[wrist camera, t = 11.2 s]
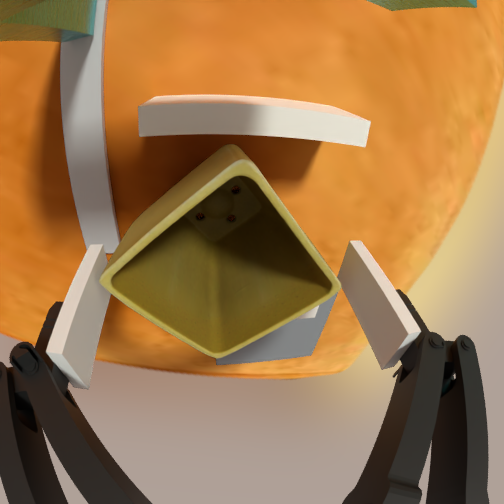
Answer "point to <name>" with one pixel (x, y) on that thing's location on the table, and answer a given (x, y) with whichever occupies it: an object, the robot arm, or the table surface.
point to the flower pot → (219, 259)
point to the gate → (84, 7)
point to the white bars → (168, 127)
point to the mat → (284, 340)
